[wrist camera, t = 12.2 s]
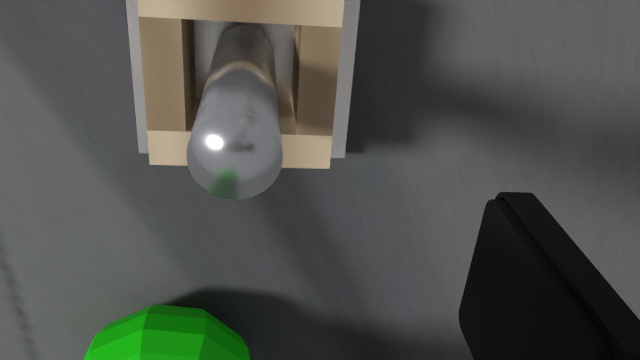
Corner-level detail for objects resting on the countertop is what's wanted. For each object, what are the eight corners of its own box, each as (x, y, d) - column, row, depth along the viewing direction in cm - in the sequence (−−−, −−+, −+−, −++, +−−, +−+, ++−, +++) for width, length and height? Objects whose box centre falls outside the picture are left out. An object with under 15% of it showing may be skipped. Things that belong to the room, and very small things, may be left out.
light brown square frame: (332, -29, 23) (345, -15, 20) (320, 132, 27) (329, 168, 23) (154, -40, 23) (135, -28, 19) (164, 127, 26) (149, 164, 22)
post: (361, -61, 24) (443, -25, 13) (341, 148, 29) (390, 301, 18) (125, -78, 23) (6, -54, 12) (143, 142, 27) (68, 303, 17)
